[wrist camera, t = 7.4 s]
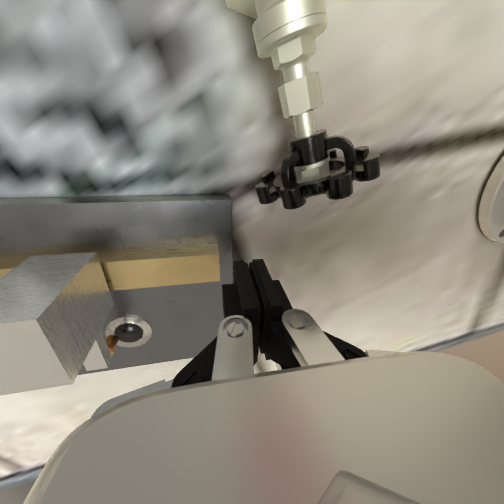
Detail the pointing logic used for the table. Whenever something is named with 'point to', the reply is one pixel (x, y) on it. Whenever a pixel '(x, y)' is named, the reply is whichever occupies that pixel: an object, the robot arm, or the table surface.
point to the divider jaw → (53, 321)
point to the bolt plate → (135, 229)
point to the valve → (302, 106)
